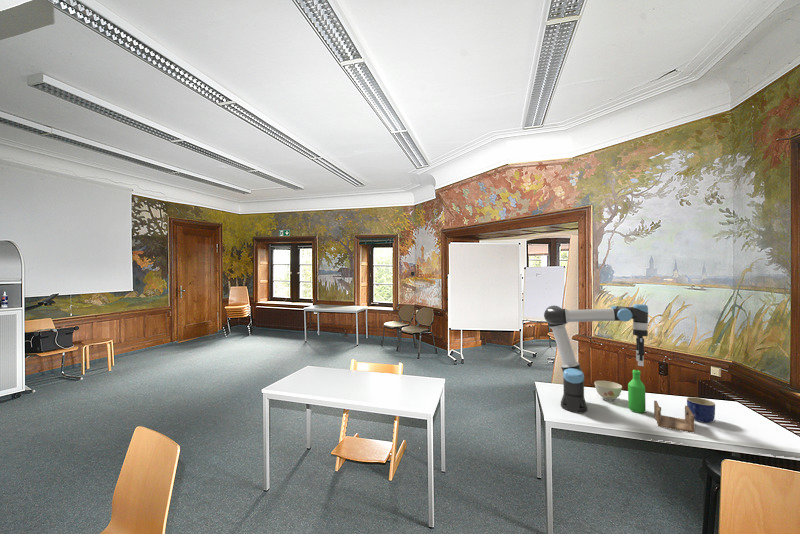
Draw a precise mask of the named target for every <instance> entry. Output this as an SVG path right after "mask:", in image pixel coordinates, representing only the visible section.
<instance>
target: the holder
mask: <svg viewBox="0 0 800 534" xmlns="http://www.w3.org/2000/svg"><path fill="white" fill-rule="evenodd" d="M653 405H654V407H653V408H654V412H653V413H654V418H655V421H657V422H656V424H657V427H659V426H660V428H664V427H665V428H664V429H669V428H671V429H670V430H675V429H676V430H675V431H680V430H681V431H680V432H685V431H688V432H687V433H690V432H694V433H695V420H694V415H693V413H692V412H691V410H690V409H689V407H688V406H687V405H684V418H680V417H679V418H678V417H673V416H667V415H662V407H661V406H660V405H659V403H658V401H657V400H654V401H653Z"/></svg>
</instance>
